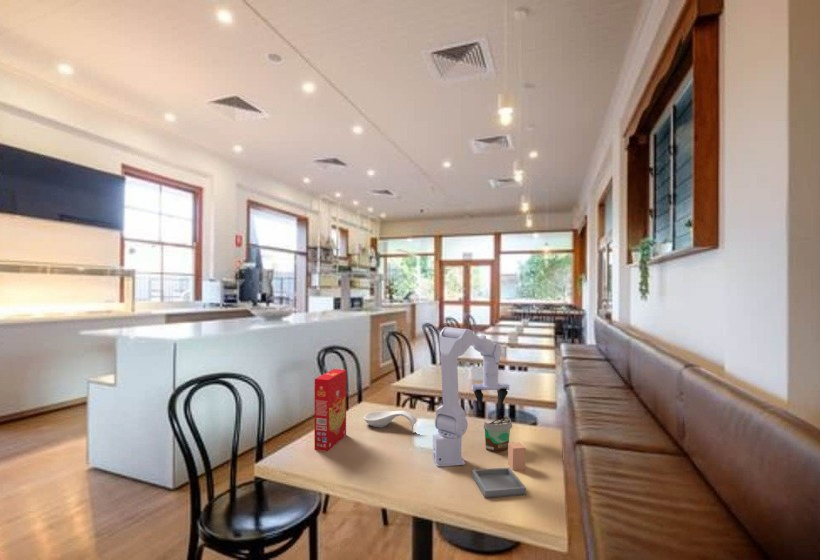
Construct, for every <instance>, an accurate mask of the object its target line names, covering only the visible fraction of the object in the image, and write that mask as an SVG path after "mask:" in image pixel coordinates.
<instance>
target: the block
mask: <svg viewBox="0 0 820 560" xmlns="http://www.w3.org/2000/svg"><path fill="white" fill-rule="evenodd" d="M507 452H508V453H507V465H508V467H509V468H510V469H511V470H512V471H522V470H525V468H526V467H525V466H526V463H525V462H526V447H525V446H524V445H523V444H522V443H521V442H509V443H508V450H507Z"/></svg>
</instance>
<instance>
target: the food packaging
mask: <svg viewBox="0 0 820 560" xmlns="http://www.w3.org/2000/svg"><path fill="white" fill-rule="evenodd" d="M345 436H347V369H341V368H333V369H331V370H329V371H327V372H325V373H323V374H321V375H319V376H317V377H315V378H314V450H315V451H323V452H330V450H331V449H332V448H334V447H335V445H337V444H338V443H339V442H340V441H341V440H342V439H343V438H344V437H345Z"/></svg>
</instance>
